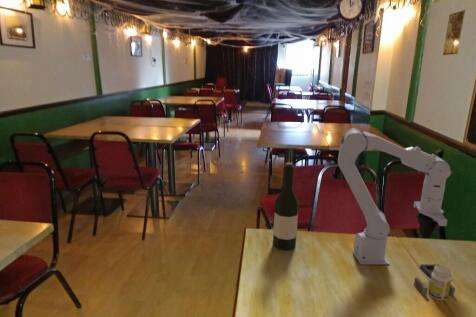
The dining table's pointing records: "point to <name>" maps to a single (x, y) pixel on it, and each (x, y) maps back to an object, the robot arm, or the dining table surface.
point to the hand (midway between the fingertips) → (425, 237)
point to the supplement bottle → (440, 282)
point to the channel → (423, 288)
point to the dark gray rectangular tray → (428, 268)
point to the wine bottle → (286, 213)
